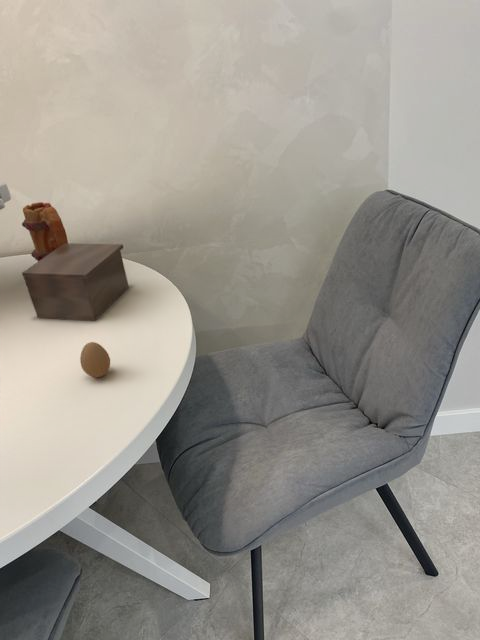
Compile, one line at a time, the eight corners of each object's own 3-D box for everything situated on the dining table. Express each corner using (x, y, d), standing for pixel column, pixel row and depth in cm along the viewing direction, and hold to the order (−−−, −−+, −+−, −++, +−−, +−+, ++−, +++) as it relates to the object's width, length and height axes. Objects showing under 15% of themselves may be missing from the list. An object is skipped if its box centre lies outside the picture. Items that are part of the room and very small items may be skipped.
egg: (85, 371, 89) (75, 339, 86) (113, 364, 90) (104, 333, 86) (85, 386, 85) (75, 353, 82) (114, 379, 86) (105, 347, 83)
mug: (31, 265, 131) (10, 203, 123) (63, 254, 135) (44, 194, 127) (56, 281, 121) (35, 215, 113) (89, 269, 125) (71, 205, 117)
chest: (129, 287, 115) (119, 247, 110) (94, 321, 103) (82, 278, 99) (76, 285, 118) (65, 247, 114) (37, 318, 107) (23, 276, 102)
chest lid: (123, 247, 110) (122, 244, 110) (86, 278, 98) (85, 274, 98) (65, 246, 114) (64, 243, 113) (23, 276, 102) (21, 272, 101)
